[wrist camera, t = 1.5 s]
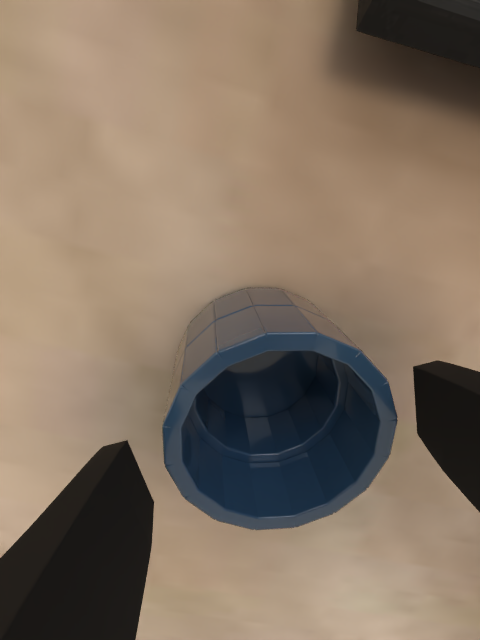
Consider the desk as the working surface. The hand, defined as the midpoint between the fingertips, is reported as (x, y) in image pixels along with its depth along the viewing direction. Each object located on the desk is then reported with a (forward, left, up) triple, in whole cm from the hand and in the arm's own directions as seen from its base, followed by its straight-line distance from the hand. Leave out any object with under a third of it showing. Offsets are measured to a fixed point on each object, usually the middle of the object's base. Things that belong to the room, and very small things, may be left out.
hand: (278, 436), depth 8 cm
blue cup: (0, 0, -4) cm, 4 cm away
